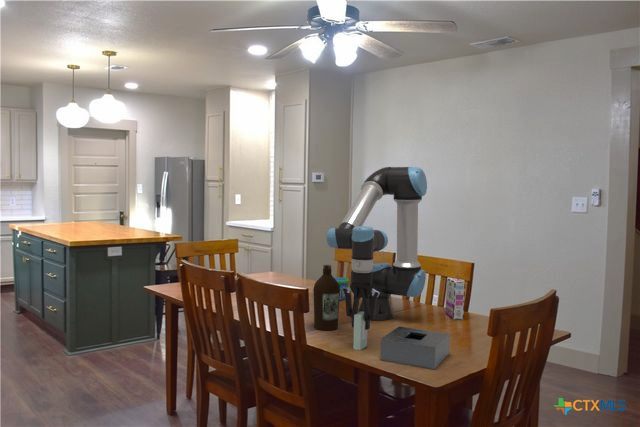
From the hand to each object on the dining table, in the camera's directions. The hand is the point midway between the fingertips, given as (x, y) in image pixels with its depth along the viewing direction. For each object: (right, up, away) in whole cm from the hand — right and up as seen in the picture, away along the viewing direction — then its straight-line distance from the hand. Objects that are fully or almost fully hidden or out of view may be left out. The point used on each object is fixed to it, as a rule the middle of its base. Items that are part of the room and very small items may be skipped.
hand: (360, 337), depth 190 cm
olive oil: (-12, -2, +25) cm, 28 cm away
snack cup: (-5, +1, +80) cm, 80 cm away
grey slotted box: (+18, -4, -9) cm, 20 cm away
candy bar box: (+45, -2, +48) cm, 66 cm away
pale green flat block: (0, -4, 0) cm, 4 cm away
